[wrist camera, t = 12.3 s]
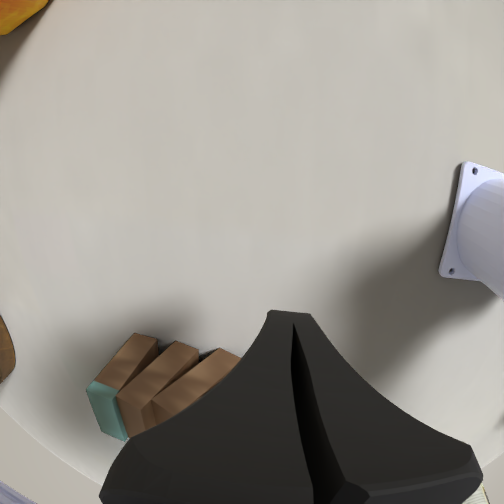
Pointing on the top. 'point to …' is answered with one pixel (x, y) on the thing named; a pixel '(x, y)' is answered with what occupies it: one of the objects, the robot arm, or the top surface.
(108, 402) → the domino
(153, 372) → the domino
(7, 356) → the wooden container
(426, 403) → the top surface
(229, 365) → the domino
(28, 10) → the bucket of meat
